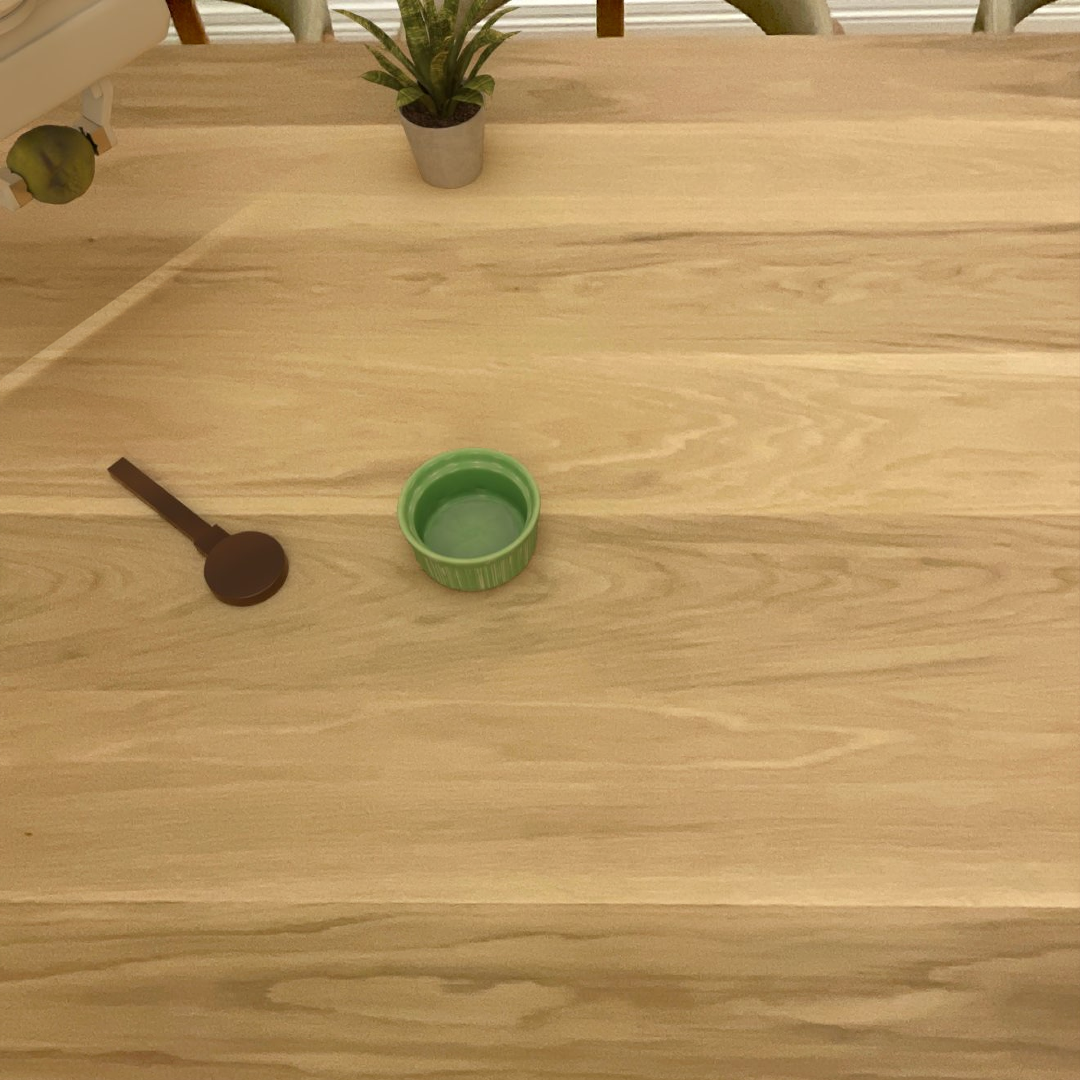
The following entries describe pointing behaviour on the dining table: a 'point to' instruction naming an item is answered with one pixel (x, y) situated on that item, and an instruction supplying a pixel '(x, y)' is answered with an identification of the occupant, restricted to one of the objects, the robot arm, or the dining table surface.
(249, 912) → the dining table surface
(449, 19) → the house plant
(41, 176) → the lime
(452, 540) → the ramekin
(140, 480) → the spoon
